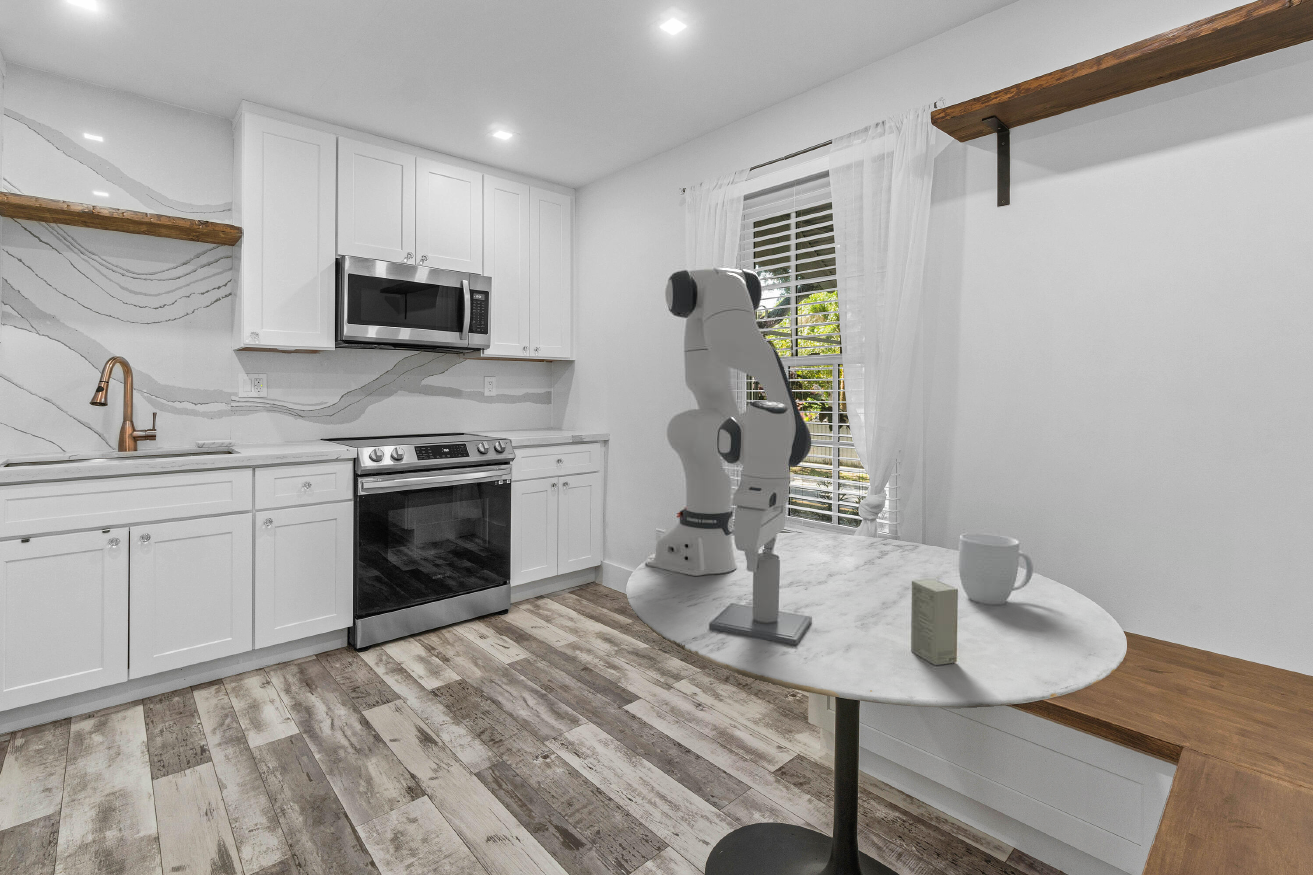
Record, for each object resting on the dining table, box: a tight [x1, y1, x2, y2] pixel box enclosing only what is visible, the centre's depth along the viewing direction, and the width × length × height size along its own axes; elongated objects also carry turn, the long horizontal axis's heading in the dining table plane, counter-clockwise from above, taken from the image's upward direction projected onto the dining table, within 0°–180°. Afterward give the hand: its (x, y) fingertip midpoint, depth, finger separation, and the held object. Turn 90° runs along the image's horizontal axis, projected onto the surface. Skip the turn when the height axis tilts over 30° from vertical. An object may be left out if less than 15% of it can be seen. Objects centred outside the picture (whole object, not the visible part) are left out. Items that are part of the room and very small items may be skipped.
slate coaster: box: [708, 602, 813, 646], centre depth 113 cm, size 16×12×1 cm
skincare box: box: [910, 578, 959, 666], centre depth 100 cm, size 6×4×12 cm
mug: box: [958, 532, 1034, 606], centre depth 128 cm, size 15×11×13 cm
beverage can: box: [752, 552, 781, 624], centre depth 113 cm, size 5×5×12 cm
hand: (760, 563), depth 113 cm, fingers open, 8 cm apart
